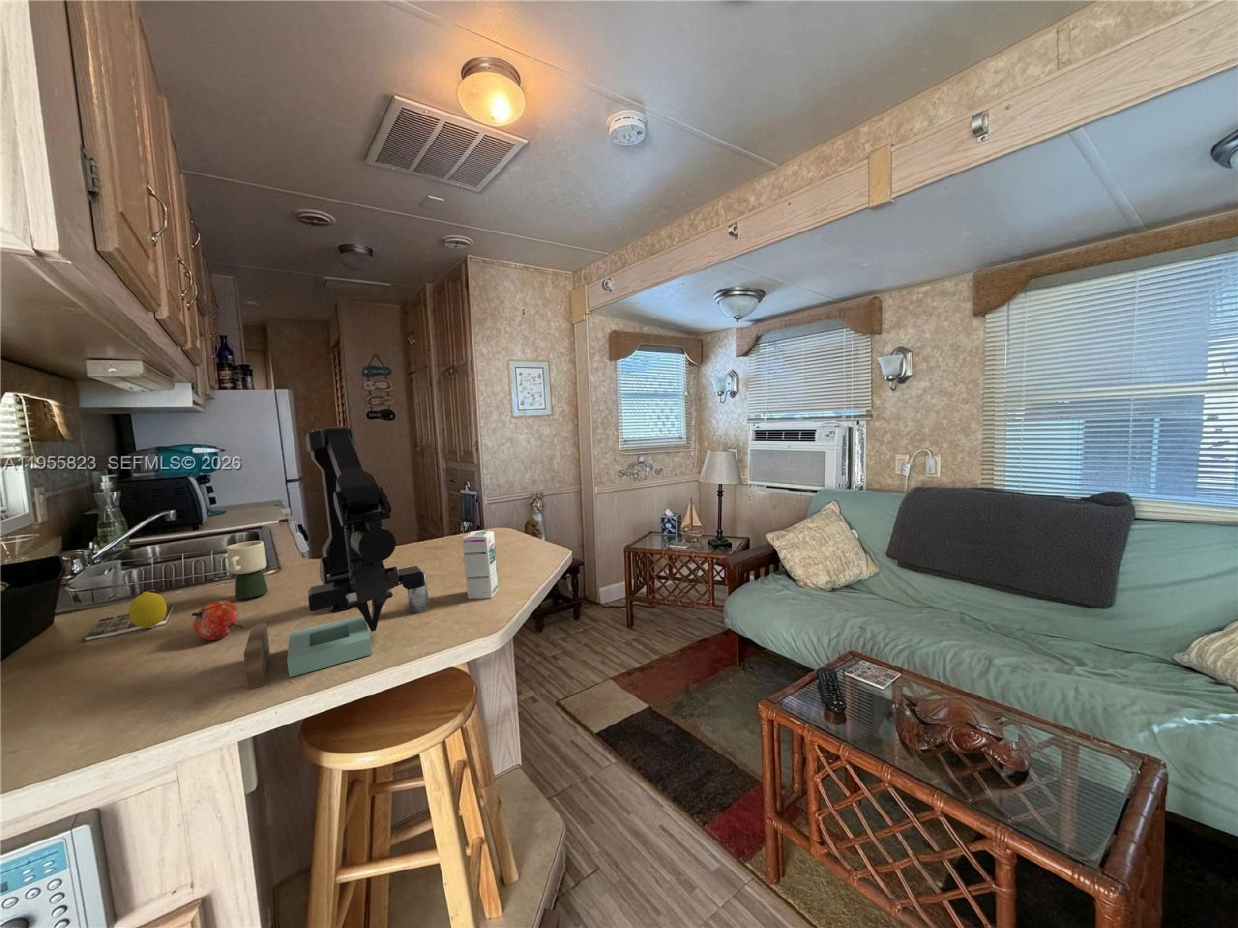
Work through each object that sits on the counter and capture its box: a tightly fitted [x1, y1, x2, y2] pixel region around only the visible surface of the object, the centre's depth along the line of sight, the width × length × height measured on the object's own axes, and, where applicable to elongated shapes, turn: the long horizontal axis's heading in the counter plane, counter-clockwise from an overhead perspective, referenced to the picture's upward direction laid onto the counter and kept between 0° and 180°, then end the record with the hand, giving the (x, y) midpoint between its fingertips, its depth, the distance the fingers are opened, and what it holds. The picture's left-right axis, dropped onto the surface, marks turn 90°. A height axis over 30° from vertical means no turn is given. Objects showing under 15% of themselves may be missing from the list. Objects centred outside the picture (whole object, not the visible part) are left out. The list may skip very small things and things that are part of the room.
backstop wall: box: [243, 622, 271, 691], centre depth 79 cm, size 12×2×6 cm, turn 33°
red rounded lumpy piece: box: [191, 599, 243, 641], centre depth 93 cm, size 7×7×10 cm
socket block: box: [286, 614, 373, 678], centre depth 85 cm, size 12×12×3 cm
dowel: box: [406, 570, 430, 615], centre depth 102 cm, size 4×4×8 cm
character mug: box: [226, 540, 269, 600], centre depth 114 cm, size 11×7×13 cm, turn 8°
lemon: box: [128, 591, 168, 629], centre depth 98 cm, size 6×6×8 cm
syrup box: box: [461, 530, 500, 600], centre depth 109 cm, size 6×6×14 cm
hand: (373, 630), depth 89 cm, fingers closed
